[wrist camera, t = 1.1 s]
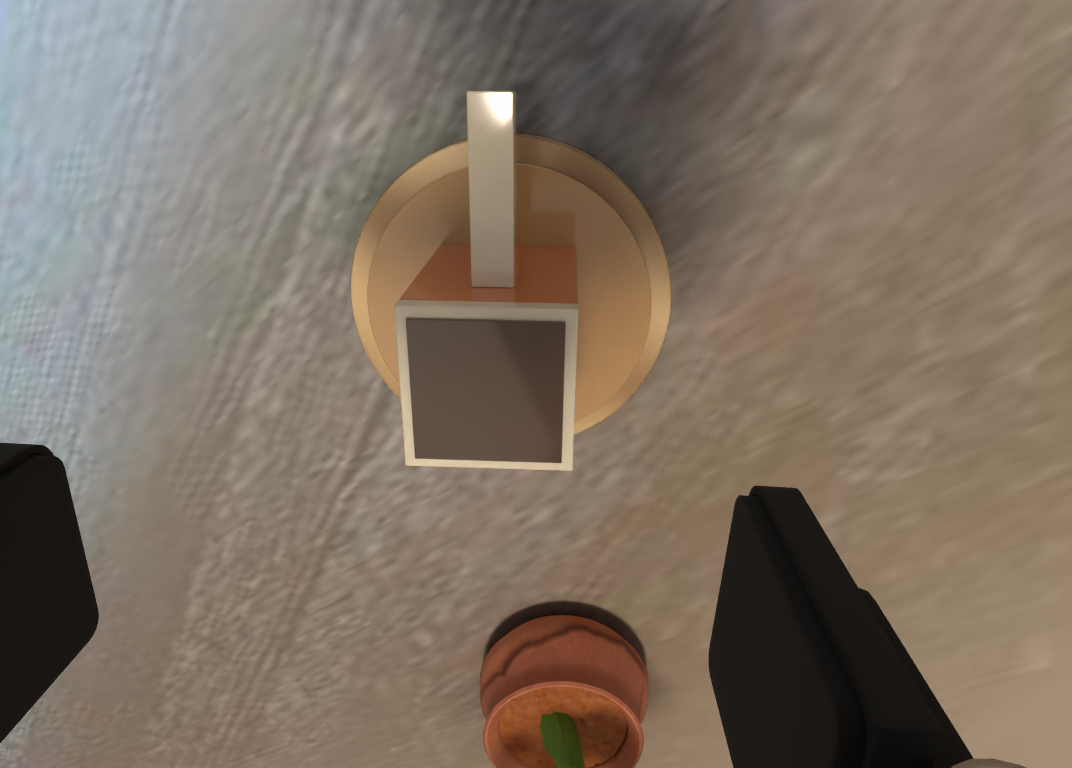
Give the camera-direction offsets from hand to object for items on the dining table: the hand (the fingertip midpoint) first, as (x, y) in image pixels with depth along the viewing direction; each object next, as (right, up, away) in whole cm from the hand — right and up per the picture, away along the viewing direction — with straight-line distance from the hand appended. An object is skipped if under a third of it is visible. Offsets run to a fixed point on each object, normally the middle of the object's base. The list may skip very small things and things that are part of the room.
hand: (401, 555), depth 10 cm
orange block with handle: (+1, +7, +22) cm, 24 cm away
